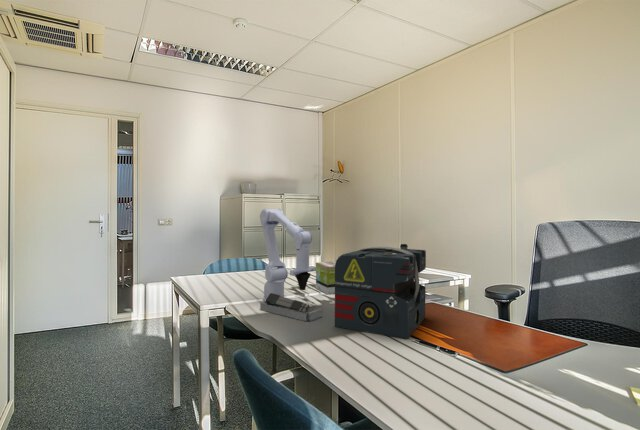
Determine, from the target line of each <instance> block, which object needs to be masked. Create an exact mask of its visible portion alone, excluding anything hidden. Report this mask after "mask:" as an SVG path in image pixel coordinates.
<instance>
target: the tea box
mask: <svg viewBox="0 0 640 430" xmlns="http://www.w3.org/2000/svg"><path fill="white" fill-rule="evenodd" d="M335 263H336V262H335V261H322V262H319V261H318V262H315V289H317V290H319V291H321V292H322V293H324V294H326V295H335Z"/></svg>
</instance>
